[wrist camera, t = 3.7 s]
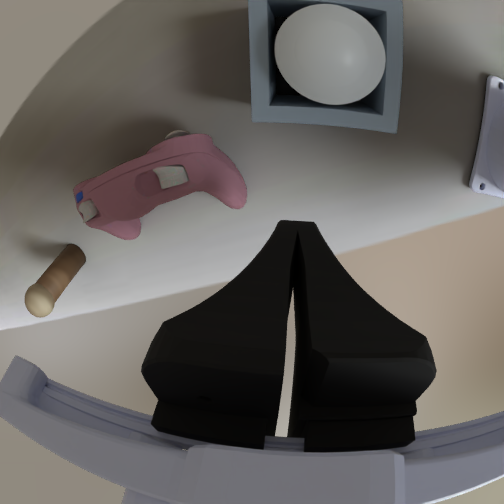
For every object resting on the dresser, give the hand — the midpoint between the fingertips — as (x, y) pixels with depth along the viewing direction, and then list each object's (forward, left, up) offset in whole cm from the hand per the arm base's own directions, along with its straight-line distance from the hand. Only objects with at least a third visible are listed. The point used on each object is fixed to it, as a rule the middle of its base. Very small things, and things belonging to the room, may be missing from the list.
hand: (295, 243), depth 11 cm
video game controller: (+8, 0, -7) cm, 11 cm away
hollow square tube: (-1, -7, -7) cm, 10 cm away
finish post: (+19, +7, -7) cm, 22 cm away
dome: (-1, -7, -5) cm, 9 cm away
